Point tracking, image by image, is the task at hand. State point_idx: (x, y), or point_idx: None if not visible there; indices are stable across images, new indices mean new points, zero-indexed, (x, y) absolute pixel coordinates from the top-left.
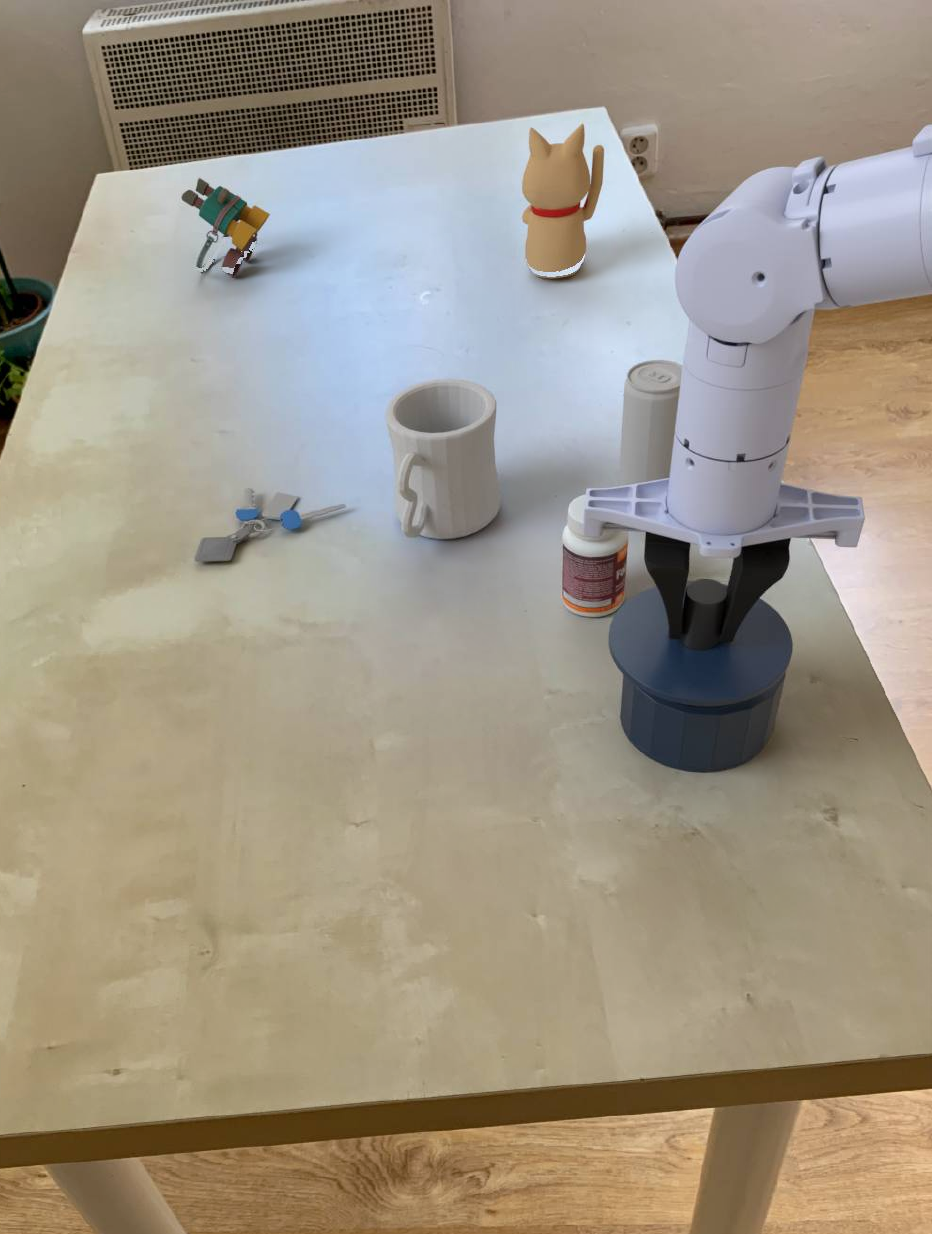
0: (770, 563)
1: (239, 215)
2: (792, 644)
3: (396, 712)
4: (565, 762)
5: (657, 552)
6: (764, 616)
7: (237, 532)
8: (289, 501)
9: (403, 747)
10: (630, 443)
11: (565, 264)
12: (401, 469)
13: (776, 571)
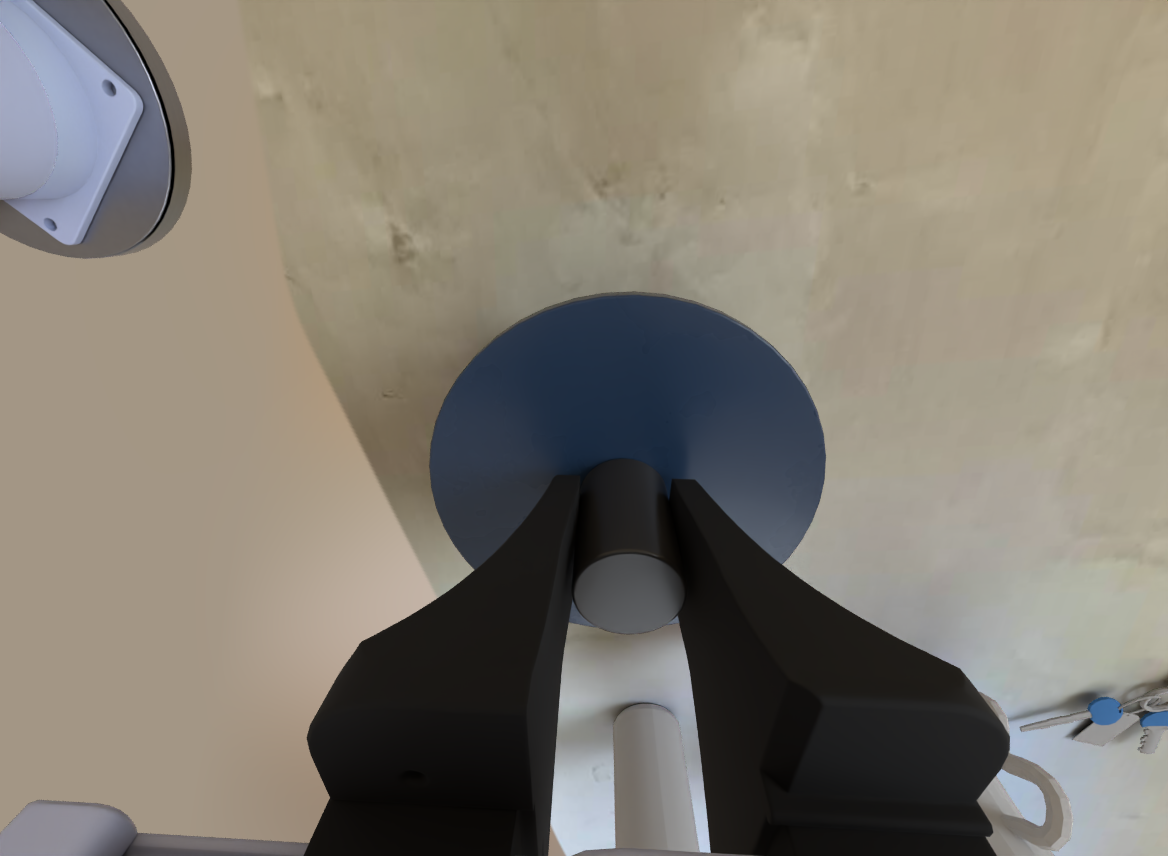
0: (390, 727)
1: None
2: (431, 483)
3: (1042, 404)
4: (793, 321)
5: (934, 777)
6: (491, 551)
7: None
8: (1088, 734)
9: (1052, 333)
10: (688, 834)
11: None
12: (1072, 822)
13: (363, 681)
